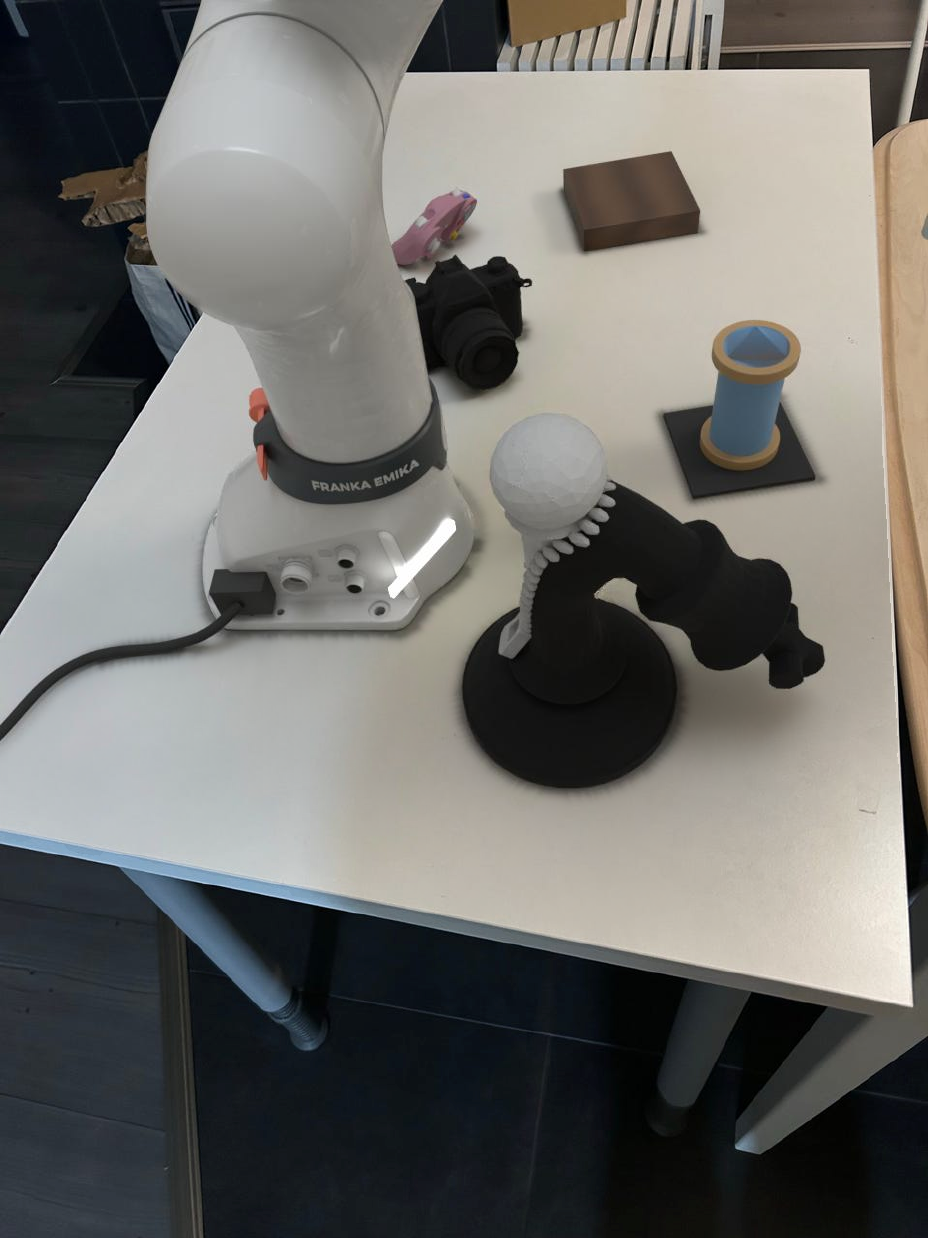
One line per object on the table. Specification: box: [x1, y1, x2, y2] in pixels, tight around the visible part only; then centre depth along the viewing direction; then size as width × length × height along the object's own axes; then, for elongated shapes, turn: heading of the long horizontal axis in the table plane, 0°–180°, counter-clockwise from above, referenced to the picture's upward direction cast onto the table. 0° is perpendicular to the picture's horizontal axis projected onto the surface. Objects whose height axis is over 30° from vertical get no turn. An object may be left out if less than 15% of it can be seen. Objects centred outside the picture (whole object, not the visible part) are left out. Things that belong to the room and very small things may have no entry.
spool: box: [700, 319, 802, 471], centre depth 73 cm, size 6×6×10 cm
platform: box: [562, 150, 701, 252], centre depth 98 cm, size 12×12×2 cm
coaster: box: [662, 401, 817, 500], centre depth 77 cm, size 10×10×1 cm
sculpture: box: [461, 412, 826, 789], centre depth 55 cm, size 15×24×25 cm, turn 82°
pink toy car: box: [391, 186, 478, 266], centre depth 97 cm, size 10×5×7 cm, turn 143°
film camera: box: [403, 254, 533, 391], centre depth 84 cm, size 15×10×9 cm, turn 113°
